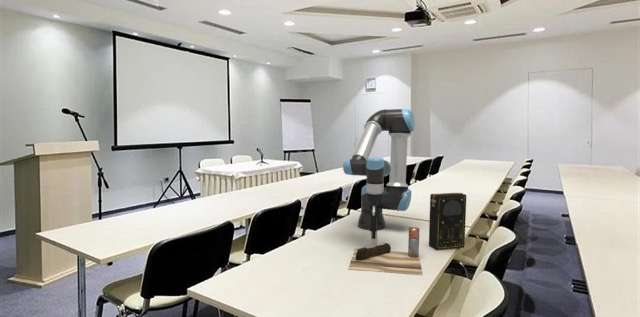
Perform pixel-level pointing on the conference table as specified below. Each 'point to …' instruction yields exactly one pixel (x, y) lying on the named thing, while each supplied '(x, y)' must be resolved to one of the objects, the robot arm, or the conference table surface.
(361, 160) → the robot arm
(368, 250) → the hand tool
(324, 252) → the conference table surface
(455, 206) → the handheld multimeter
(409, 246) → the copper and grey cylinder
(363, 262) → the plywood sheet
